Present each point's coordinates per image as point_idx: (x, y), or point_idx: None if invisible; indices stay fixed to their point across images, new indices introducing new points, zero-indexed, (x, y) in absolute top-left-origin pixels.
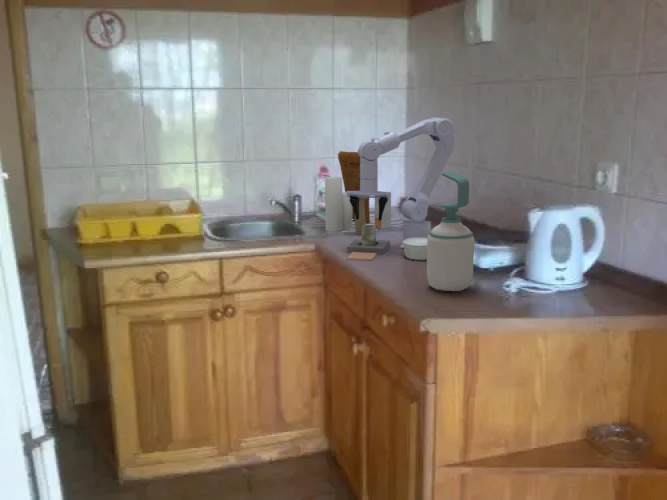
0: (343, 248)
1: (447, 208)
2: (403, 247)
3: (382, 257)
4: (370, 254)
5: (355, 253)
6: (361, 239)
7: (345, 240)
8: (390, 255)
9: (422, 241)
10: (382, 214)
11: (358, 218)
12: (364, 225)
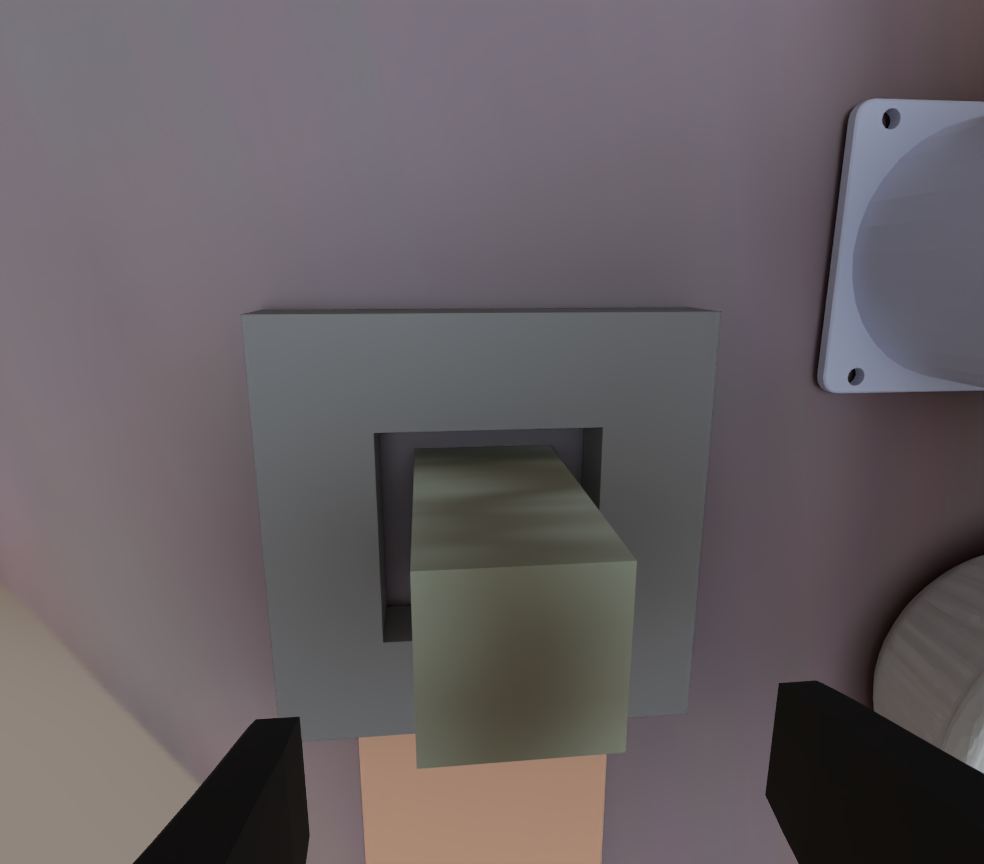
0: (183, 526)
1: None
2: (854, 392)
3: (667, 768)
4: (557, 777)
5: (405, 781)
6: (338, 321)
7: (32, 53)
8: (731, 685)
9: None
10: (915, 745)
11: (301, 781)
12: (433, 632)
